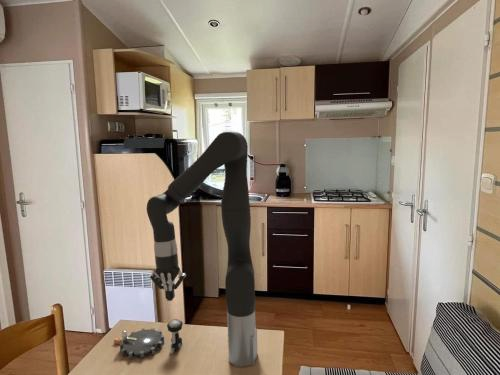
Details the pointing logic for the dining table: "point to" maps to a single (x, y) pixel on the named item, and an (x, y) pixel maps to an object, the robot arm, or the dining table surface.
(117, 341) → the pointer block
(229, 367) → the dining table surface
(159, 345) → the sprocket wheel
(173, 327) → the push button
